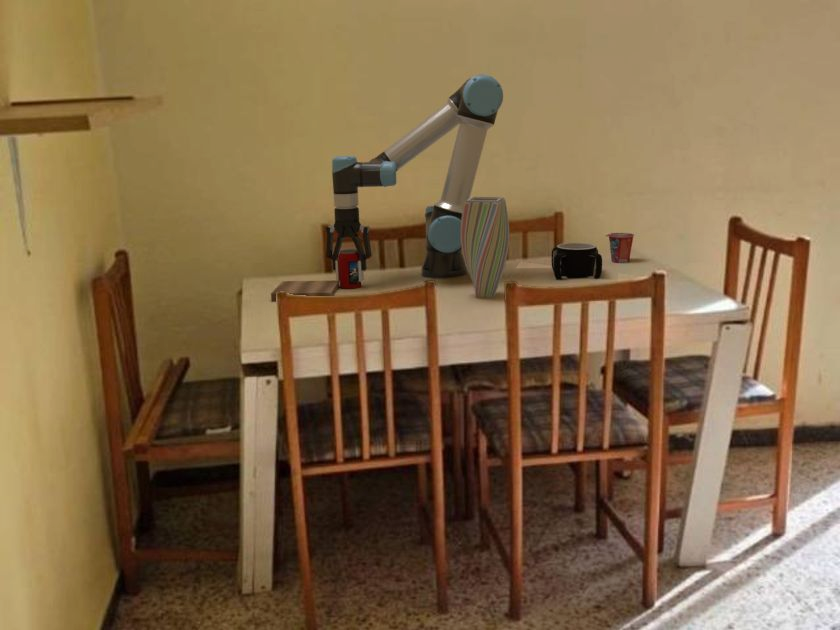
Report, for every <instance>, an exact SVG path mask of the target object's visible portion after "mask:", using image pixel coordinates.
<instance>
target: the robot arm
mask: <svg viewBox="0 0 840 630" xmlns="http://www.w3.org/2000/svg"><path fill="white" fill-rule="evenodd" d="M503 99H504V90H503V88H502V86H501V84H500V83H499V81H498V80H497V79H496V78H495V77H493V76H491V75H489V74H483V73H482V74H477V75H475V76H472V77H470V78H468V79H467V80H465V82H464V83H463V84H462V85H461V86H460V87H459V88H458V89H457V90H456V91H455V92H454V93H452V94H451V95H450V96H449V97H447V101H446V103H445V104H443V105H442V106H441V107H440V108H438V109H437V110H436V111H434V112H433V113H432V114H431V115H429V116H428V117H426V118H425V119H424V120H423V121H421V122H420V123H419V124H417V125H416V126H415V127H414V128H412V129H411V130H409V131H408V132H407V133H405V134H404V135H403V136H402V137H401V138H399V139H398V140H396V141H395V142H394V143H392V144H391V145H389V146H388V147H387V148H386V149H384V150H383V151H382V152H381V153H380V154H378V155H377V156H375V157H374V158H372V159H370V160H369V161H365V162H363V161H361V162H360V161H358V160H357V157H356V156H355V155H338V156H334V157H333V158H332V161H331V165H332V166H331V168H332V169H331V175H332V176H331V177H332V186H333V187H332V190H333V206H334V224H333V225H328V226H326V227H325V233H326V251H325V252H326V253H325V256H326V258H327V259H330V260H331V261H332V270H333V271H335V278H336V279H335V280H336V281H339V282H340V280H339V264H338V256H339V254H340V251H341V248H342V246H343V243H344V239H345V238H350V239H351V240H352V241H353V244H354V246H355V250H357V252H358V254H359V257H360V260H359V261H358V269H359V282H361V283H362V282H363V281H364V279H365V274H364V272H365V271H366V270H367V260H368V259H370V258H371V257H372V249H371V242H370V236H369V235H370V226H369V225H366V226H365V225H362V224H361V222H360V208H359V207H358V206H359V189H358V188H366V187H367V188H373V187H375V188H376V187H377V188H379V187H384V188H387V187H394V186H396V185H397V172H398V171H399V170H400V169H402V168H403V167H404V166H406V165H407V164H408V163H410V162H411V161H412V160H413V159H415V158H416V157H417V156H419V155H420V154H421V153H423V152H424V151H426V150H427V149H428V148H429V147H431V146H433V144H434V143H436V142H438V141H439V140H440V139H441V138H443V137H444V136H446V135H448V133H449V132H451V131H453V130H454V129H455V128H456V127H458V129H457V134H456V136H455V137H456V138H455V141H454V145H453V150H452V153H451V157H450V161H449V165H448V169H447V171H446V172H447V173H446V177H445V180H444V185H443V188H442V193H441V196H440V197H441V198H440V199H439V200H438V201H437V202H434V204H433V205H429V206H427V207H426V208H425V213H424V217H425V248H426V249H425V250H426V251H425V256H424V260H423V262H422V267H421V276H422V277H424V278H427V279H453V278H458V277H463V276H466V275H467V274H468V268H467V265H466V262H465V259H464V255H463V251H462V245H461V235H460V234H461V219H462V212H463V205H464V202H465V201H466V200H468V199H469V198H471V194H472V191H473V187H474V183H475V179H476V176H477V171H478V168H479V164H480V160H481V157H482V152H483V149H484V144H485V141H486V137H487V133H488V130H489V129H491V128H492V127H494V126H495V124H496V123H495V122H496V119H497V115H498V113H499V112H498V111H499V110H500V108H501V107H502V104H503V102H504V100H503ZM359 230H360V231H361V233H362V240H363V246H362V243H361V240H360V236H359V234H358V233H359ZM335 231H336V232H337V234H338V235H337V238H336V242H335V245H334V246H333V244H334V232H335ZM333 247H334V248H333ZM363 247H364V248H363Z"/></svg>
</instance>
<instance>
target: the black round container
mask: <svg viewBox="0 0 840 630" xmlns="http://www.w3.org/2000/svg"><path fill="white" fill-rule="evenodd" d="M550 260H551V268H552V271H553V275H554V278H555V280H559V281H561V280H565V279H583V278H584V279H585V278H589V279H595V280H597V279H600V278H601V276H602V272H603V256H602V255H601V253H599V249H598V248H597V245H595V244H593V243H589V242H565V243H559V244H557V245H556V247H553V248H552V249H551V259H550ZM593 275H594V276H593Z"/></svg>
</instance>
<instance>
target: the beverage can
mask: <svg viewBox="0 0 840 630" xmlns="http://www.w3.org/2000/svg"><path fill="white" fill-rule="evenodd" d="M337 259H338V264H339V280H340V281H339V288H341V289H344V290H352V289H353V290H355V289H358V288H361V286H362V282H359V269H358V261H359V260H360V257H359V254H358V252H357V249H353V248H351V249H342V250H341V249H340V252H339V255H338V258H337Z"/></svg>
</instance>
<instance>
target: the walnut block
mask: <svg viewBox="0 0 840 630" xmlns="http://www.w3.org/2000/svg"><path fill="white" fill-rule="evenodd" d="M339 288H340V281H336V279H335V280H332V279H331V280H283V281H281V282H280V284H278V285H277V287H276V288H274V290H273V291H271V292H270V298H271V299H270V301H271V302H274V303H275V302H276V293H277V292H280V291H284V292H287V293H289V294H293V295H306V296H333V297H334V296H335V294H336V293H337V291H338V289H339ZM276 303H277V302H276Z"/></svg>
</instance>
